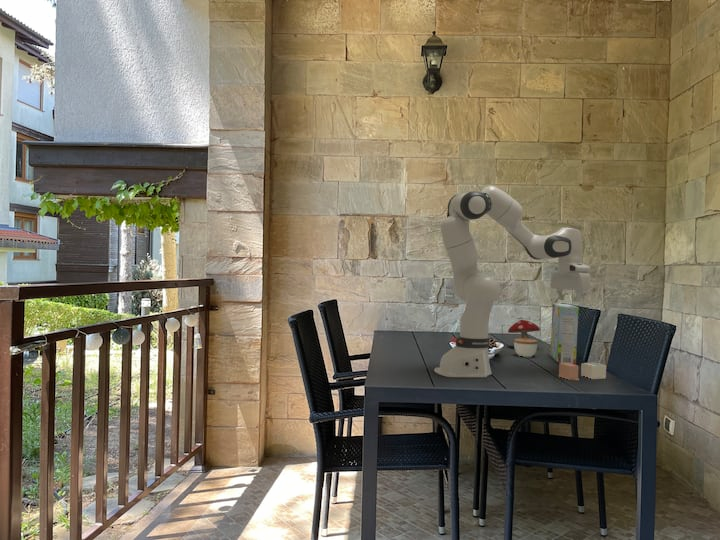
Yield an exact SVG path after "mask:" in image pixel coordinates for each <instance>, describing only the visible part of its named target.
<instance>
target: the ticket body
mask: <svg viewBox="0 0 720 540" xmlns="http://www.w3.org/2000/svg"><path fill="white" fill-rule="evenodd" d="M580 366H581V368H580V369H581V370H580V372H581V373H580V376H581V377H583V376H585V377H584V378H586V377H588V378H587V379H590V378H591V379H590V380H601V379H603V380H605V379H606V378H607V365H605V364H601V363H599V362H582V363H581V365H580Z"/></svg>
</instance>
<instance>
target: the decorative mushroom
mask: <svg viewBox="0 0 720 540" xmlns="http://www.w3.org/2000/svg"><path fill="white" fill-rule="evenodd" d="M539 331H541V329H540V327H539V326H538V325H537V324H535V323H534V322H532V321H530V320H526V319H520V320H518V321H516V322H515V323H513V324H512V325H511V326H510V327H509V328H508V331H507V333H509V334H518V333H519V334H521V339H525V337H527V339H530V337H529V334H528V332H529V333H530V332H531V333H532V332H539Z"/></svg>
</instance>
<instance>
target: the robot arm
mask: <svg viewBox="0 0 720 540" xmlns="http://www.w3.org/2000/svg"><path fill="white" fill-rule="evenodd" d="M484 215H488V216H489V217H490V218H492V220H494V222H496V223H497V224H499V226H501V227H503V228H504V230H506V231H507V232H508V233H509V234H510V235H511V236H512V237H513V238H514V239H515V240H516V241H518V242H519V243H520V244H521V245H522V247H523V248H524V250H525V251H526V253H527V254H528V256H529V257H530V258H532V259H533V260H537V261H539V260H549V259H551V260H552V259H557V264H558V265H557V266H555V267H554V268H553V270H552V273H551V276H550V284H549V285H550V288H551V289H555V290H556V293H557V296H558V298H557V299H558V300H559V301H564V300H565V296H564V295H563V291H564V290H567V291H575V296H574V297H573V302H577V303H579V302H580V301H581V297H582V294H583V292H587V291H589V290H590V288H591V275H590V272H591V267H590V265H587V264H585V263H584V262H582V255H581V254H582V250H583V249H582V248H583V239H582V238H583V237H582V233H581V231H580V230H579V229H578V228H576V227H572V226H571V227H569V226H564V227H560V229H559V230H557V231H556V232H554V233H551V234H547V235H538V234H534V232H532V231H531V230H529V228H528V227H527V226H526V225H524V224H523V222H522V220H523V217H524V208H523V206H522V205H521V204H520V203H519V202H518V201H517V200H516V199H515V198H513V197H512V196H511V195H510V194H508V193H507V192H505V191H503V190H502V189H500V188H499V187H496V186H494V185H488V186H486V187H484V188H483V189H481V191H474V190H473V191H464V192H461V193H458V194H455V195H453V196H452V197H451V198H450V199H449V202H448V203H447V214H446V217H445V218H444V219H443V220H442V221H441V223H440V233H441V238H442V241H443V246H444V247H445V250H446V253H447V256H448V259H449V261H450V265H451V270H452V275H453V283H452V286H451V287H452V288H451V289H452V291H453V294H454V295H455V296H456V297H457V298H458V299H460V300H462V301H464V302H466V304H465V308H464V310H463V312H462V314H461V316H460V320H459V321H460V325H459V336H458V337H454V336H451V338H450V341H451V342H452V343H455V346H453V347H452V348H451V349H450V350H448V351H447V352H446V353H444V354H443V355H442V357H441V359H440V362H439V367H435V368H434V369H433V371H434V372H435V374H437V375H439V376H443V377H446V378H487V377H488V376H490V375H492V374H493V373H492V370H491V366H490V357H489V356H490V355H489V350H490V337H489V327H490V326H489V323H490V317H491V316H490V315H491V312H492V309H493V306H494V303H495V301H496V300H498V298H499V296H500V294H501V286H500V284H499V282H498V281H497V280H496V279H495V278H494V277H490V276H489V275H485V274H479V271H478V261H479V253H478V250H477V247H476V245H475V241H474V239H473V237H472V233H471V232H470V221H473V220H479V219H480V218H483V216H484Z"/></svg>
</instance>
